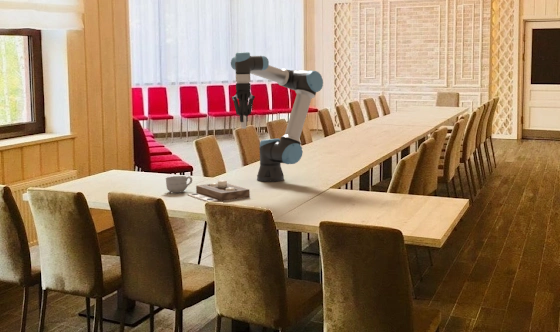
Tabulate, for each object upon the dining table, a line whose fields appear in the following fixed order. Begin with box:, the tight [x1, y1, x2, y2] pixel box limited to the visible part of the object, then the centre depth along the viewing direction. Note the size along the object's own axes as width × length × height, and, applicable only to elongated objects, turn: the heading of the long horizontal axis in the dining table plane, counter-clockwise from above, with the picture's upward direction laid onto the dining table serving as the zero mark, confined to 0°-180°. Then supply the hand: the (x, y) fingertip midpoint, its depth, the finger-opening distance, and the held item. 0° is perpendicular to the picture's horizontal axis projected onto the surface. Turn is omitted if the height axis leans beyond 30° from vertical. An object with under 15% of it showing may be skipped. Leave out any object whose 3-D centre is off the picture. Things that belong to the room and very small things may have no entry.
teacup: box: [165, 175, 193, 194], centre depth 379 cm, size 14×11×8 cm
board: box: [195, 182, 251, 202], centre depth 368 cm, size 16×26×4 cm, turn 34°
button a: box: [209, 182, 218, 187], centre depth 375 cm, size 5×5×3 cm
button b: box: [217, 179, 228, 188], centre depth 368 cm, size 5×5×3 cm
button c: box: [226, 187, 235, 191], centre depth 362 cm, size 5×5×3 cm
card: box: [187, 192, 219, 202], centre depth 362 cm, size 5×22×1 cm, turn 34°
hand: (243, 128), depth 378 cm, fingers closed
